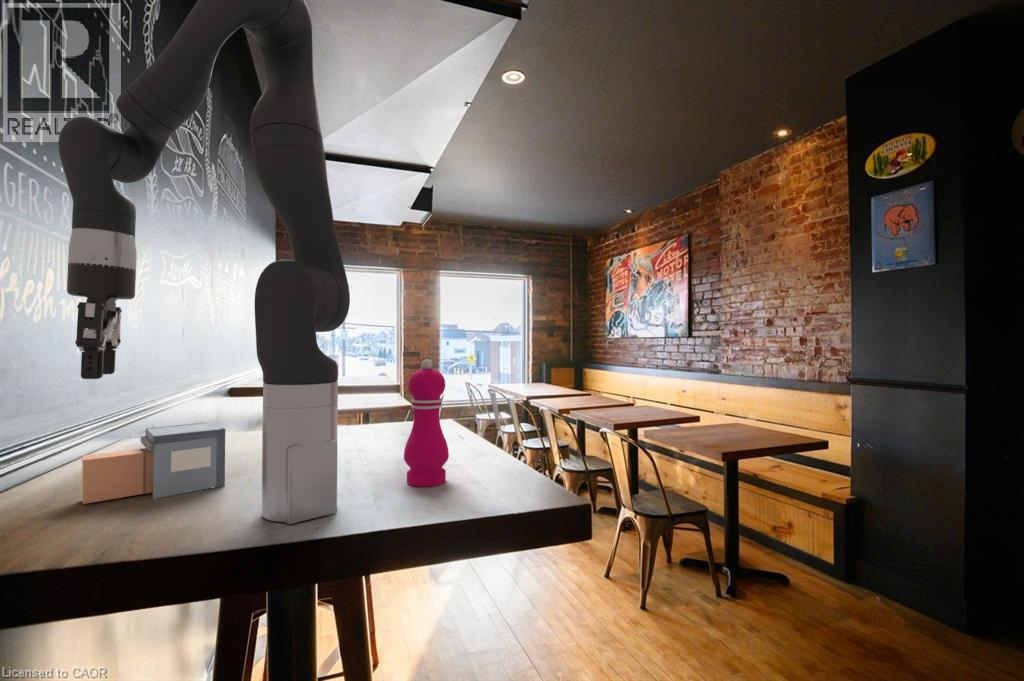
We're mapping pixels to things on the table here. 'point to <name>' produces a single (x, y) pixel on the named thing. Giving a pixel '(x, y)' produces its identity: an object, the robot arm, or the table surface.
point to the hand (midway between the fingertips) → (98, 376)
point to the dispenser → (186, 457)
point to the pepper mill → (426, 429)
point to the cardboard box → (116, 475)
